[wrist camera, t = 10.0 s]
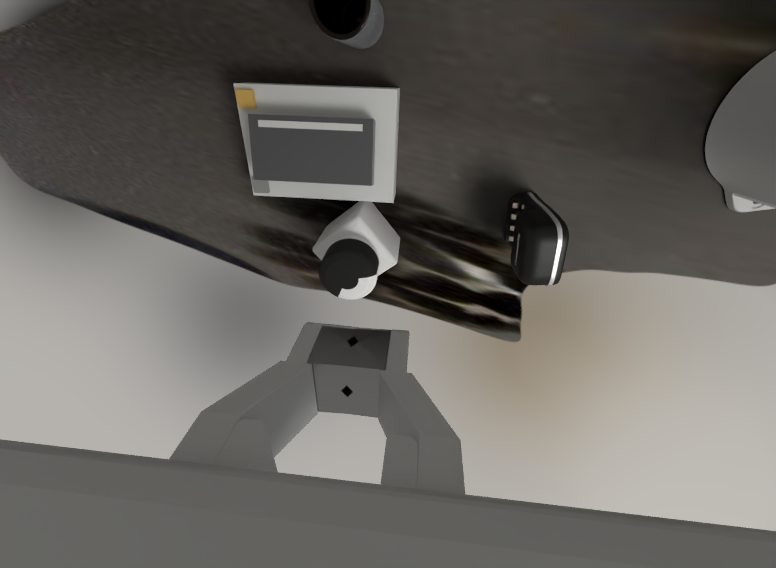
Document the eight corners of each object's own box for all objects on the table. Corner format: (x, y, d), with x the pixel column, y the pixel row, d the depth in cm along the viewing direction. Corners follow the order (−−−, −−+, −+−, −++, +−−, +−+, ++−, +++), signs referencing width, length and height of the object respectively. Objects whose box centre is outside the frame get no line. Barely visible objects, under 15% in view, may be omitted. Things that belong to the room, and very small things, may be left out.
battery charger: (502, 191, 40) (528, 228, 30) (536, 189, 40) (573, 226, 30) (497, 245, 44) (519, 293, 34) (528, 244, 43) (559, 292, 34)
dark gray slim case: (375, 121, 33) (373, 118, 31) (373, 184, 35) (371, 185, 33) (256, 116, 34) (247, 113, 32) (261, 178, 36) (252, 179, 34)
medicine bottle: (325, 226, 44) (296, 271, 34) (367, 194, 42) (349, 233, 31) (360, 265, 47) (343, 318, 37) (401, 238, 44) (395, 286, 34)
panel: (399, 87, 35) (397, 89, 31) (395, 192, 41) (392, 205, 37) (250, 82, 36) (229, 83, 32) (267, 185, 42) (250, 197, 38)
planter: (340, 50, 34) (313, 42, 25) (335, -8, 32) (302, -40, 23) (385, 47, 34) (373, 38, 25) (383, -12, 31) (368, -46, 23)
